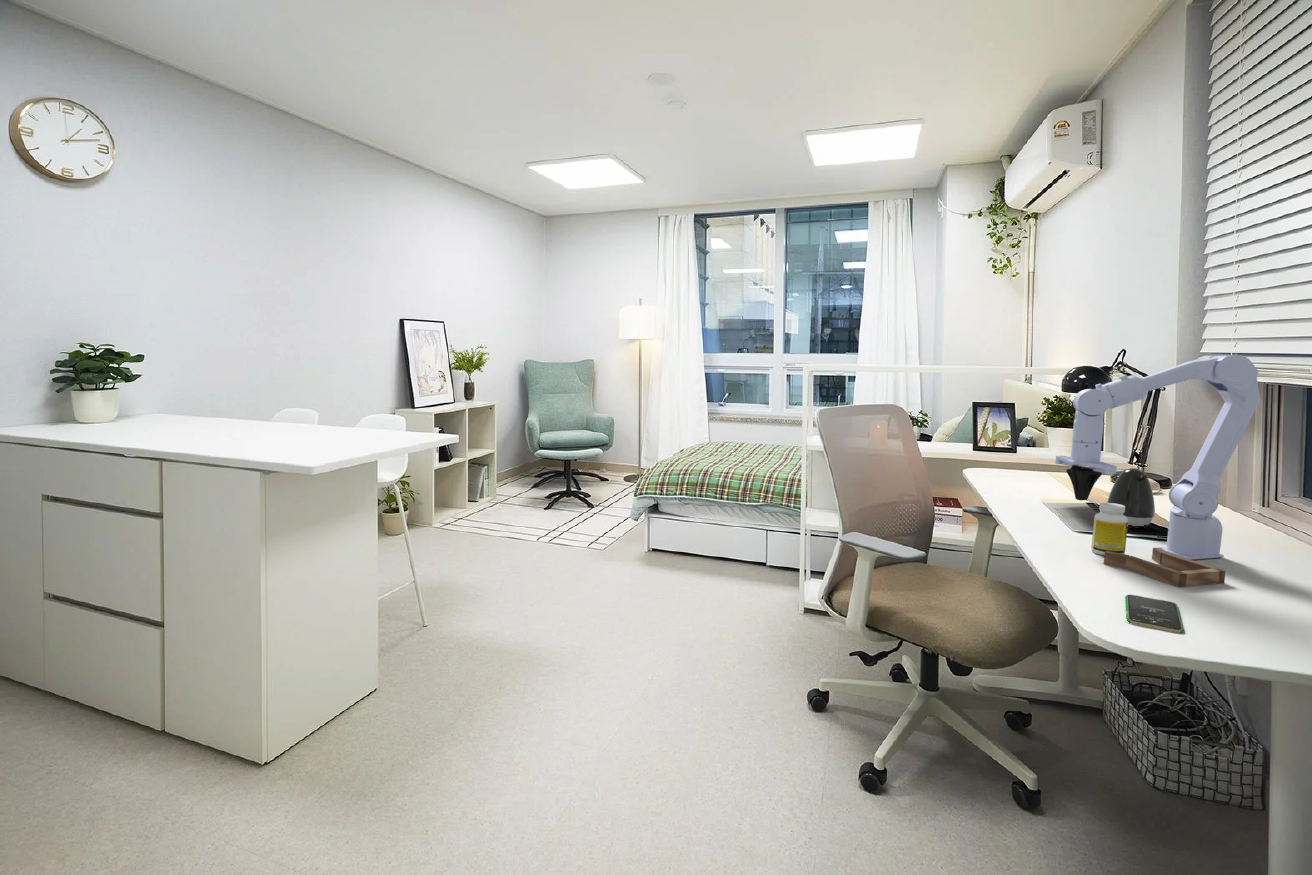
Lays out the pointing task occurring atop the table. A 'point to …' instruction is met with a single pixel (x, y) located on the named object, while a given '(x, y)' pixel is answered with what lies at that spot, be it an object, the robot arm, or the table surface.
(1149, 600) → the smartphone
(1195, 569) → the wooden u-shaped bracket
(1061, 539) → the table surface
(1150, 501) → the dark grey egg-shaped device
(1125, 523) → the pill bottle
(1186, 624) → the table surface
